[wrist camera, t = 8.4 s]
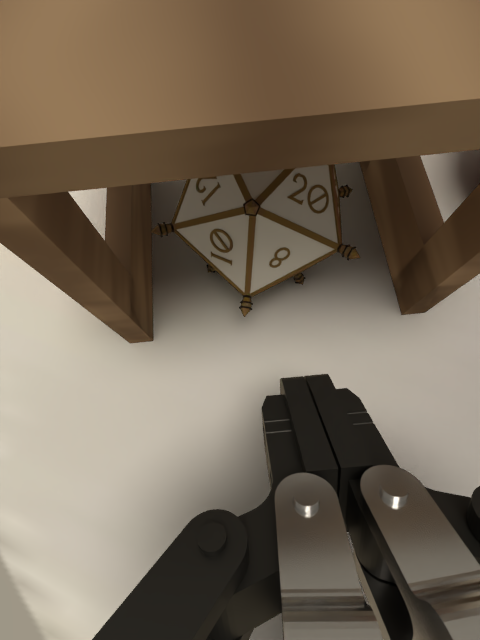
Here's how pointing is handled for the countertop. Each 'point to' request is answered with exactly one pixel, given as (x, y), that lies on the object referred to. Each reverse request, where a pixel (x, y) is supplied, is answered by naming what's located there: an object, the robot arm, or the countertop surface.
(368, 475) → the robot arm
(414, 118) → the tunnel
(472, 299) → the countertop surface
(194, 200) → the game die
